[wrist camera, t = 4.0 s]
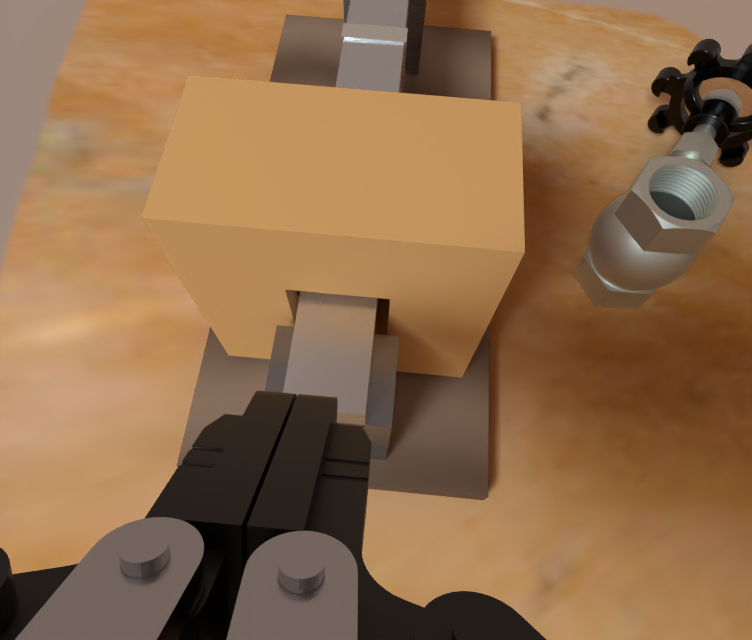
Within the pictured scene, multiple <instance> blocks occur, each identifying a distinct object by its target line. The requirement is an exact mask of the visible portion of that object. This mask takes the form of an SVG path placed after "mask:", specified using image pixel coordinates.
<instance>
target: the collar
mask: <svg viewBox="0 0 752 640" xmlns="http://www.w3.org/2000/svg"><path fill="white" fill-rule="evenodd" d="M141 219H142V220H143V222H144V223H145V225H146V227H147V228H148V230H149V231H150V233H151V234H152V236H153V238H154V239H155V241H156V242H157V244H158V245H159V247H160V249H161V250H162V252H163V253H164V255H165V256H166V258H167V260H168V261H169V263H170V264H171V266H172V267H173V269H174V271H175V272H176V274H177V275H178V277H179V278H180V280H181V281H182V283H183V285H184V286H185V288H186V289H187V291H188V292H189V294H190V296H191V297H192V299H193V300H194V302H195V303H196V305H197V307H198V308H199V310H200V311H201V313H202V314H203V316H204V318H205V319H206V321H207V322H208V324H209V325H210V327H211V329H212V330H213V332H214V333H215V335H216V336H217V338H218V339H219V341H220V343H221V344H222V346H223V347H224V349H225V350H226V352H227V354H228V355H229V356H240V357H251V358H261V359H271V354H272V348H273V343H274V337H275V332H276V327H277V325H282V326H292V327H294V326H295V320H296V314H297V308H298V302H299V297H300V291H306V292H317V293H328V294H339V295H350V296H361V297H372V298H379V304H378V314H377V324H376V334H378V335H389V336H399V345H398V357H397V369H396V371H399V372H409V373H420V374H430V375H441V376H452V377H462V376H463V374H464V372H465V370H466V368H467V366H468V364H469V362H470V360H471V358H472V356H473V354H474V353H475V351H476V349H477V347H478V345H479V343H480V341H481V339H482V337H483V335H484V333H485V331H486V329H487V327H488V325H489V323H490V321H491V319H492V317H493V315H494V313H495V311H496V309H497V307H498V305H499V303H500V301H501V299H502V297H503V295H504V293H505V291H506V289H507V287H508V285H509V283H510V281H511V279H512V277H513V275H514V273H515V271H516V269H517V267H518V265H519V263H520V261H521V259H522V257H523V255H524V253H525V235H524V195H523V156H522V116H521V103H518V102H506V101H494V100H482V99H469V98H457V97H445V96H433V95H421V94H409V93H397V92H385V91H373V90H361V89H349V88H337V87H325V86H312V85H300V84H288V83H276V82H264V81H252V80H240V79H228V78H216V77H204V76H192V75H188V78H187V81H186V84H185V87H184V90H183V93H182V96H181V99H180V102H179V105H178V108H177V111H176V114H175V117H174V120H173V123H172V126H171V129H170V132H169V135H168V138H167V141H166V144H165V147H164V150H163V153H162V156H161V159H160V162H159V165H158V168H157V171H156V174H155V177H154V180H153V183H152V186H151V190H150V193H149V196H148V199H147V202H146V205H145V208H144V211H143V214H142V217H141Z"/></svg>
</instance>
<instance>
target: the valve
mask: <svg viewBox="0 0 752 640" xmlns="http://www.w3.org/2000/svg"><path fill="white" fill-rule="evenodd" d="M720 52H721V47H720V44H719V43H718V42H717V41H715V40H713V39H705V40H702V41H700V42H699V43H698V44H697V45H696V46H695V48H694V49H693V51H692V52H691V54H690V56H689V57H688V60H687V64H688V66H690V65H692V64H694V65H695V68H694V69H693V70H692V71H690V72H689V73H687V74H681V72H680V71H679V70H678V69H676V68H674V67H667V68H664V69H663V70H661V71H660V73H659V74H658V75H657V77H656V79H655V80H654V82H653V83H652V86H651V90H652V92H653V94H654V95H655V96H657V97H659V96H660V94H661V93H662V92H663V93H668V94H669V95H670V96H671V99H670V103H669V105H661V106H659V107H657V108H656V109H655V111H654V113H653V114H652V116H651V117H650V119H649V121H648V127H649V129H650V130H651V131H653V132H655V133H663V132H664V130H665V129H666V128H667V127H670V126H674V127H675V128H676V129H677V131H678V132H679V133H680V134H681V135H682V137H681V138H680V139H679V141H678V142H677V144H676V145H675V146H674V148H673V150H672V151H671V153H670V155H669V156H662V157H651V158H650V160H649V161H648V162H647V164H646V165H645V167H644V168H643V170H642V171H641V173H640V174H639V175H638V177H637V178H636V180H635V181H634V183H633V184H632V186H631V187H630V189H629V191H628V192H627V193H625V194H623V195H621V196H620V197H618V198H616V199H615V200H613V201H612V202H611V203H610V204H609V205H608V206H606V207H605V208H604V210H603V211H602V212H601V214H600V215H599V216H598V218H597V220H596V221H595V223H594V225H593V228H592V231H591V235H590V243H589V247H588V249H587V251H586V252H585V254H584V256H583V257H582V259H581V260H580V262H579V264H578V265H577V267H576V268H575V270H574V272H573V273H572V274H573V276H574V277H575V279H576V280H577V281H578V283H579V284H580V286H581V287H582V289H583V290H584V291H585V293H586V294H587V296H588V297H589V298H590V300H591V301H592V303H593V304H594V305H595V306H598V307H610V308H622V309H637V308H638V307H639V306H640V305H642V304H643V303H644V302H645V301H646V300H647V299H648V298H649V297H650V296H651V295H652V294H653V292H654V290H655V289H657V288H660V287H662V286H665V285H667V284H669V283H671V282H673V281H674V280H676V279H677V278H679V277H680V276H681V275H682V274H683V273H684V272H685V271H686V270H687V269H688V268H689V267H690V266H691V264H692V263H693V261H694V260H695V258H696V256H697V254H698V252H699V249H700V248H701V247H702V246H703V245H704V244H705V243H706V242H707V241H709V240H710V239H711V238H712V237H713V236H714V235H715V234H716V233H717V231H718V229H719V228H720V226H721V224H722V223H723V221H724V219H725V217H726V215H727V213H728V211H729V209H730V207H731V205H732V202H733V200H734V197H733V195H732V193H731V192H730V190H729V188H728V187H727V185H726V184H725V183H724V182H723V180H722V179H721V178H720V177H719V176H718V175H717V174H716V173H715V172H714V171H713V170H712V169H711V168H710V167H709V166H710V165H711V163H712V161H713V159H714V157H715V155H716V154H717V152H718V150H719V148H721V156H720V158H719V162H720V163H721V164H722V165H724V166H727V167H735V166H738V165H740V164H741V163H742V162H743V160H744V158H745V156H746V154H747V152H748V150H749V144H748V143H747V141H749V140H751V139H752V115H750V116H747V117H739V109H740V108H741V106H742V102H741V100H740V99H739V97H738V95H737V94H736V93H735V92H734V91H733V90H732V89H715V90H710V92H709V93H708V94H707V96H706V97H705V98H704V99H701V97H700V94H699V86H700V85H701V83H702V81H704V80H707V79H710V78H716V77H726V78H732V79H735V80H738V81H741V82H742V83H744V84H746V85H747V86H749V87H750V88H751V89H752V44H751V45H750V46H748V48H747V49H746V51H745V53H744V54H743V56H742V58H740V59H738V60H727V59H723V58H722V57H721V56H720ZM684 102H685V105H686V107H687V109H688V110H689V112H690V113H691V114H690V116H688V114H687V112H686V110H685V105H684Z"/></svg>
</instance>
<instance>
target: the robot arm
mask: <svg viewBox="0 0 752 640" xmlns="http://www.w3.org/2000/svg"><path fill="white" fill-rule="evenodd" d="M337 408H338V400H337V397H327V396H316V395H305V394H298V396H297V395H296V394H292V393H281V392H270V391H259V390H258V391H256V392H255V394H254V395H253V397H252V399H251V401H250V403H249V405H248V406H247V408H246V410H245V412H244V414H243V415H231V414H224V415H223V416H221V417H220V418H218V419H217V420H215V421H213V422H212V423H210V424H209V425H207V426H206V427H204V428H203V430H202V431H201V433H200V434H199V436H198V438H197V439H196V441H195V442H194V444H193V445H192V449H191V450H189V451H188V453H187V454H186V456H185V457H184V459H183V461H182V465H179V467H178V468H177V470H176V471H175V473H174V474H173V476H172V477H171V479H170V480H169V482H168V483H167V485H166V487H165V488H164V490H163V491H162V493H161V494H160V496H159V497H158V499H157V500H156V502H155V503H154V505H153V506H152V508H151V510H150V511H149V513H148V514H147V516H146V517H145V519H141V520H137V521H133V522H131V523H128V524H125V525H123V526H121V527H119V528H117V529H115V530H113V531H111V532H110V533H108V534H107V535H105V536H104V537H103V538H102V539H100V540H99V541H98V542H97V543H96V544H95V545H94V546H93V547H92V548H91V550H90V551H89V552H88V553H87V554H86V556H85V557H84V558H83V559H82V560H81V561H80V563H79V564H74V565H69V566H64V567H58V568H51V569H45V570H38V571H32V572H25V573H19V574H12V570H11V565H10V560H9V558H8V555H7V554H6V552H5V551H4V550H3V549H1V548H0V640H546V639H545V638H544V637H543V636H542V635H541V634H540V633H539V632H538V631H537V630H535V629H534V628H533V627H532V626H531V625H530V624H529V623H528V622H527V621H526V620H525V619H524V618H523V617H522V616H521V615H520V614H518V613H517V612H516V611H515V610H514V609H512V608H511V607H510V606H508V605H506V604H505V603H503V602H502V601H500V600H498V599H495V598H493V597H491V596H488V595H485V594H481V593H476V592H468V591H459V592H451V593H447V594H444V595H442V596H439V597H437V598H435V599H434V600H432V601H431V602H430V603H428V604H427V606H426V607H425V608H423V607H421V606H418V605H416V604H413V603H411V602H408V601H406V600H403V599H401V598H399V597H397V596H395V595H393V594H391V593H390V592H388V591H387V590H385V589H384V588H383V587H381V586H380V585H379V584H378V583H377V582H376V581H375V580H374V579H373V578H372V576H371V575H370V574H369V572H368V570H367V569H366V567H365V564H364V562H363V558H362V547H363V537H364V527H365V517H366V506H367V494H368V482H369V471H370V459H371V447H372V443H371V441H370V439H369V438H368V436H367V434H366V432H365V431H364V429H363V427H362V426H352V425H341V424H337Z"/></svg>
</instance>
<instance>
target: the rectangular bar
mask: <svg viewBox="0 0 752 640" xmlns="http://www.w3.org/2000/svg"><path fill="white" fill-rule="evenodd" d="M425 7H426V0H344V23H343V29H342V34H341V45H342V52H341V58H340V63H339V69H338V75H337V81H336V87H337V88H349V89H361V90H373V91H385V92H397V93H402V92H403V82H404V74H415V75H418V73H419V63H420V54H421V45H422V35H423V26H424V17H425ZM378 304H379V298H372V297H361V296H350V295H339V294H328V293H317V292H306V291H300V297H299V302H298V308H297V314H296V320H295V326H294V327H292V326H282V325H277V327H276V332H275V337H274V343H273V348H272V354H271V359H270V364H269V370H268V375H267V380H266V386H265V391H270V392H281V393H292V394H296V395H297V396H298V394H305V395H316V396H327V397H337V400H338V408H337V424H341V425H352V426H362V427H363V429H364V431H365V432H366V434H367V436H368V438H369V439H370V441H371V443H372V447H371V459H380V460H386V456H387V450H388V445H389V439H390V434H391V429H392V418H393V405H394V393H395V381H396V369H397V357H398V345H399V336H389V335H378V334H376V324H377V314H378Z"/></svg>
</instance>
